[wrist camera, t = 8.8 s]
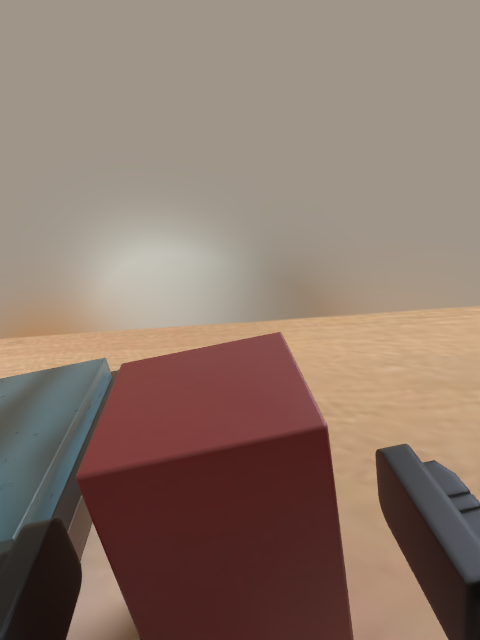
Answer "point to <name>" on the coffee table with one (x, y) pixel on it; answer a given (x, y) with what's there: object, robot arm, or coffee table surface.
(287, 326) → the coffee table surface
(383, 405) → the coffee table surface
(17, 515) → the blue-grey flat block
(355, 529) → the coffee table surface
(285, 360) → the pillar block
